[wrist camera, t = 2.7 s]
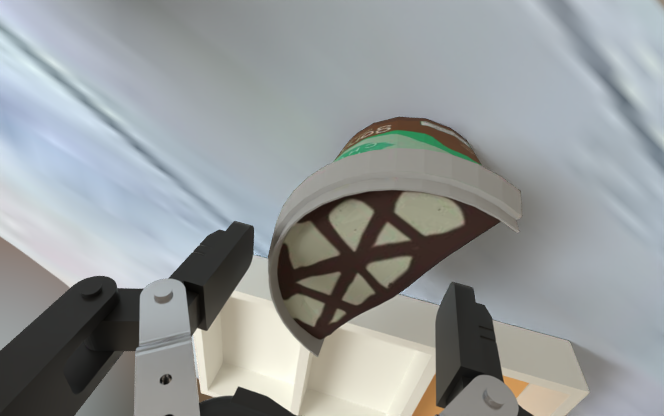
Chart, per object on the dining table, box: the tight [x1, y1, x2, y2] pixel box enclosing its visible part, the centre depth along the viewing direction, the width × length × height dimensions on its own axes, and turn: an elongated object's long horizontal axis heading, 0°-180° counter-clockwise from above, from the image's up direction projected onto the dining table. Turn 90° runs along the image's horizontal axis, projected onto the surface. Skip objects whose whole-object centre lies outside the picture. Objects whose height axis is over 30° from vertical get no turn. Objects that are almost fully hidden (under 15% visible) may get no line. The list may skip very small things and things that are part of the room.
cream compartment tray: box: [193, 255, 590, 416], centre depth 31 cm, size 29×17×4 cm, turn 81°
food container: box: [268, 117, 522, 357], centre depth 18 cm, size 12×6×10 cm, turn 142°
